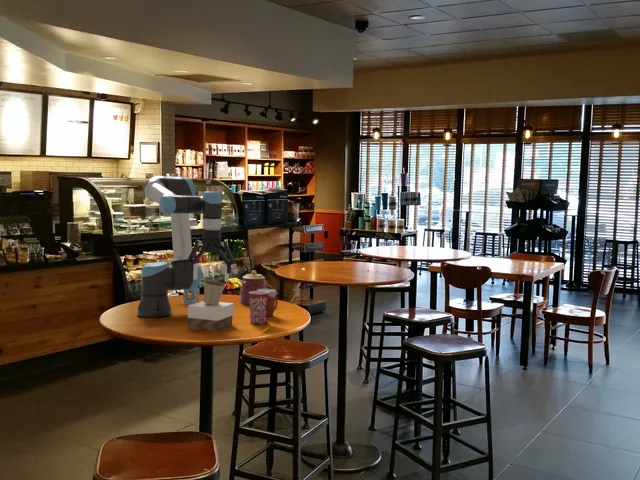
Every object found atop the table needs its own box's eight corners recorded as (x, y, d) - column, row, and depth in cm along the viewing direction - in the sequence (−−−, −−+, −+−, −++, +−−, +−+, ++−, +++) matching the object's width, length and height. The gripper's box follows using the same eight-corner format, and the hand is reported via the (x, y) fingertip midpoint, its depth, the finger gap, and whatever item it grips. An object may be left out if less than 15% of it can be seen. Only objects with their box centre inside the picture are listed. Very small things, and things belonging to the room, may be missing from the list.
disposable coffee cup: (273, 318, 287) (273, 292, 286) (253, 317, 289) (253, 290, 288) (278, 314, 297) (279, 289, 296) (259, 313, 298) (259, 288, 298)
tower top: (187, 317, 261) (187, 305, 260) (204, 312, 274) (204, 300, 274) (218, 320, 257) (218, 308, 256) (233, 314, 270) (233, 303, 270)
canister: (262, 308, 313) (262, 272, 311) (236, 306, 315) (237, 271, 313) (268, 303, 325) (269, 269, 324) (244, 302, 328) (245, 268, 326)
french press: (199, 305, 314) (200, 255, 312) (175, 304, 314) (176, 254, 312) (203, 302, 324) (203, 253, 322) (180, 301, 324) (181, 252, 322)
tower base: (187, 330, 260) (188, 318, 260) (201, 323, 274) (201, 312, 273) (220, 333, 257) (220, 320, 257) (232, 326, 271) (232, 314, 270)
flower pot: (226, 304, 268) (230, 284, 267) (215, 307, 259) (218, 286, 258) (207, 299, 271) (210, 279, 270) (195, 302, 262) (199, 281, 261)
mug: (245, 324, 273) (246, 293, 272) (250, 320, 282) (251, 290, 281) (274, 326, 271) (275, 294, 270) (278, 321, 280) (279, 291, 279)
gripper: (179, 228, 260) (178, 279, 262) (237, 230, 255) (236, 283, 257) (187, 227, 267) (186, 277, 269) (243, 230, 263) (242, 280, 264)
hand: (210, 280), depth 263 cm, fingers open, 13 cm apart
